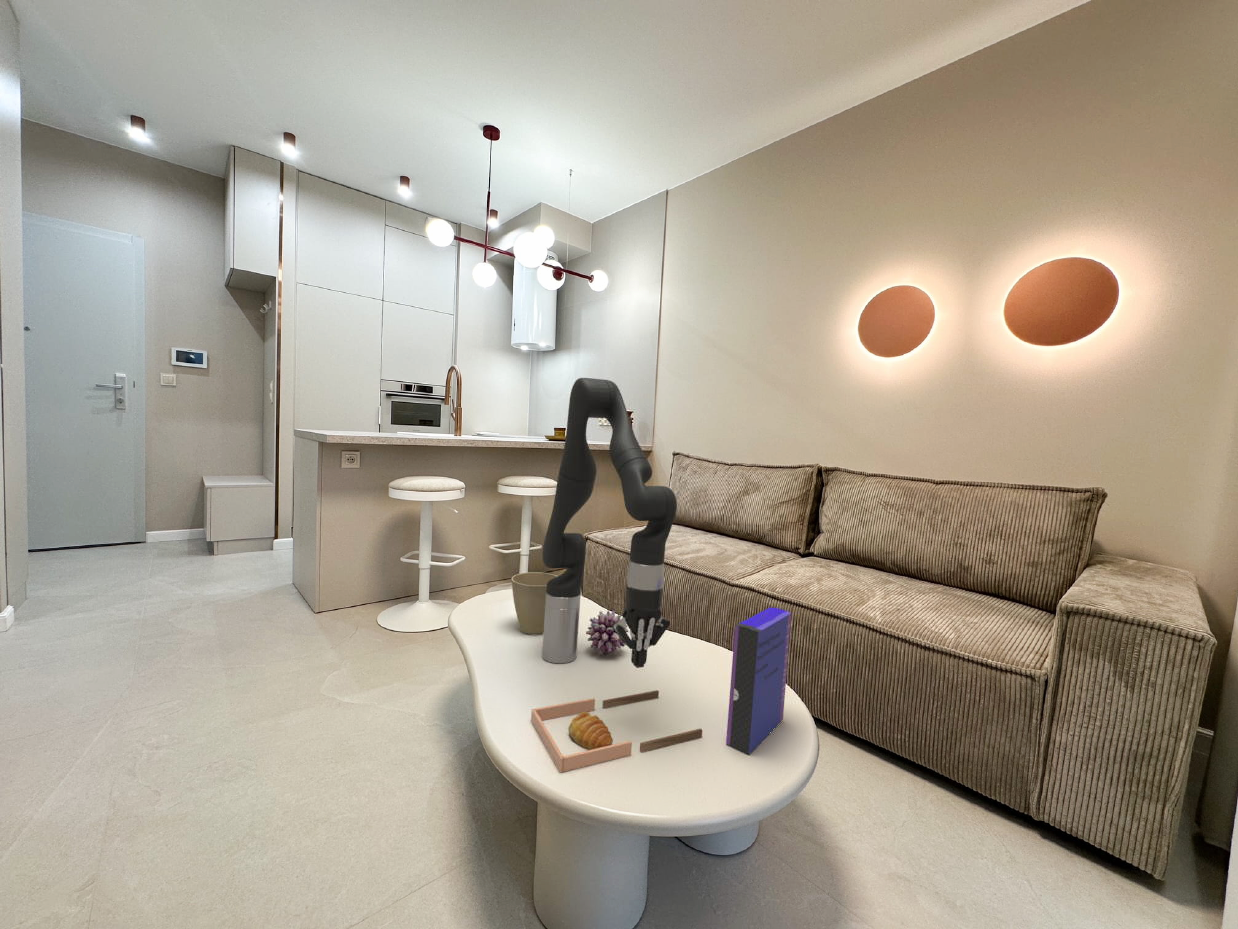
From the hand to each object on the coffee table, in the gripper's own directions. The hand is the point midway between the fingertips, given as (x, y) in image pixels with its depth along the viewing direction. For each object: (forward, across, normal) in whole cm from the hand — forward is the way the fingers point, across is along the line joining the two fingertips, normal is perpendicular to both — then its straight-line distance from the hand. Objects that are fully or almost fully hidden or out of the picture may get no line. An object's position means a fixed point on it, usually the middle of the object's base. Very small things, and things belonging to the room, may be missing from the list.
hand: (638, 666), depth 101 cm
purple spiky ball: (+13, -10, -34) cm, 37 cm away
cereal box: (+12, -23, +12) cm, 28 cm away
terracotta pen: (+12, +12, 0) cm, 17 cm away
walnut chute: (+12, -4, 0) cm, 13 cm away
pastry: (+13, +10, +2) cm, 16 cm away
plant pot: (+14, +4, -56) cm, 57 cm away
